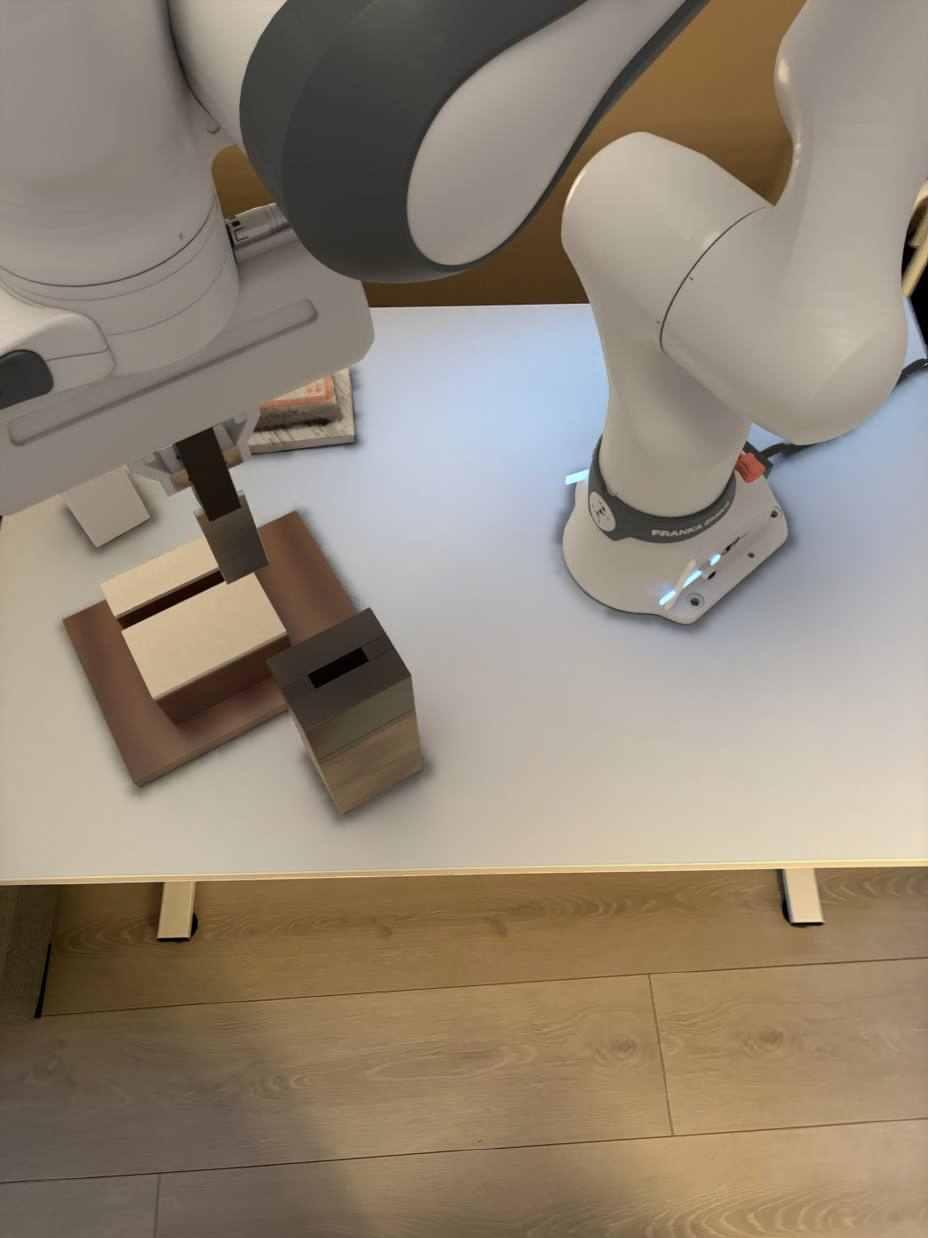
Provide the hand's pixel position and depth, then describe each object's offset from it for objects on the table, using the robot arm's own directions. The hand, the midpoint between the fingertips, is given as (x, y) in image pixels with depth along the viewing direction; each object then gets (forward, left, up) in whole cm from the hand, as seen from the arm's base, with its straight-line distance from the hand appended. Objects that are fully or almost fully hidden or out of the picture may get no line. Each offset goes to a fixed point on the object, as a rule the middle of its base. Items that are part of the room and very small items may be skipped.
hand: (204, 469), depth 49 cm
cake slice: (+4, -15, -36) cm, 39 cm away
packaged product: (-11, -33, -38) cm, 51 cm away
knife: (0, 0, -11) cm, 11 cm away
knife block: (-3, +7, -37) cm, 38 cm away
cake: (+4, -8, -36) cm, 37 cm away
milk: (+7, -29, -38) cm, 48 cm away
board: (+3, -10, -37) cm, 39 cm away
